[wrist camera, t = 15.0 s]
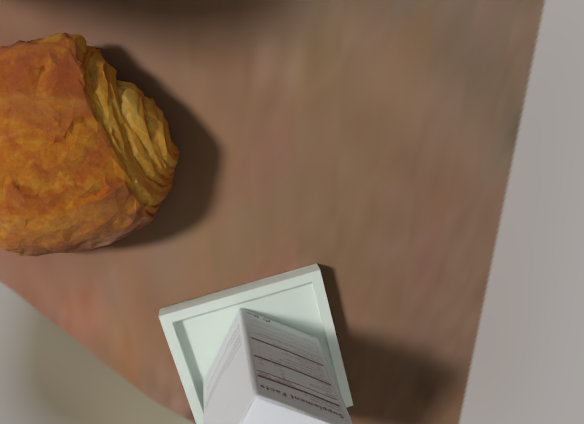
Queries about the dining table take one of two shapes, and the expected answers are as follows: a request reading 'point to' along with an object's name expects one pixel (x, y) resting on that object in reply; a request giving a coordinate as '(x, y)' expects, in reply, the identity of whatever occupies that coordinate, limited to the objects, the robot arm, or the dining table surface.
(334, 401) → the supplement box
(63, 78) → the croissant
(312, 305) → the pale green square tray
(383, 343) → the dining table surface
